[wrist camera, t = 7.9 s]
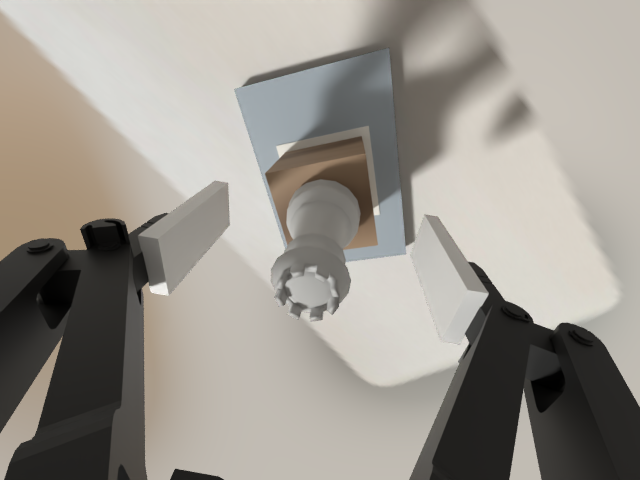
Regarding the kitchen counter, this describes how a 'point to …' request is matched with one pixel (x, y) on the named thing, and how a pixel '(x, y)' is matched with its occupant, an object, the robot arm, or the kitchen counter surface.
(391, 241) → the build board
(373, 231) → the walnut cube
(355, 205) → the rook chess piece
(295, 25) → the kitchen counter surface
